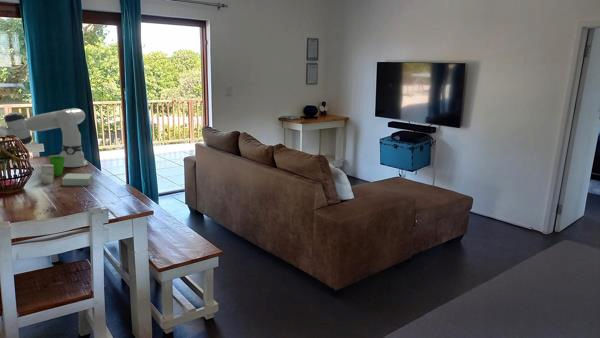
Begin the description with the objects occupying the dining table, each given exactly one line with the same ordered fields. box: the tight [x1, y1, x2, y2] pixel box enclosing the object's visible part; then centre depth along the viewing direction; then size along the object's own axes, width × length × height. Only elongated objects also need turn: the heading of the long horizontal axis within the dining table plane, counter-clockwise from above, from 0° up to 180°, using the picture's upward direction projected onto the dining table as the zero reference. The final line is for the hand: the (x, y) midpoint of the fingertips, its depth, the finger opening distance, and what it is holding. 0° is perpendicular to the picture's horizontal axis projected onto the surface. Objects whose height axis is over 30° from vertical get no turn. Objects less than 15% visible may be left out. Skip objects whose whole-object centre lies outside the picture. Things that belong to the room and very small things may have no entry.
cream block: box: [40, 164, 55, 184], centre depth 253 cm, size 5×5×10 cm
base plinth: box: [61, 173, 94, 187], centre depth 258 cm, size 13×14×4 cm
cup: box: [48, 155, 65, 177], centre depth 271 cm, size 9×9×11 cm
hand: (21, 152), depth 247 cm, fingers open, 8 cm apart
